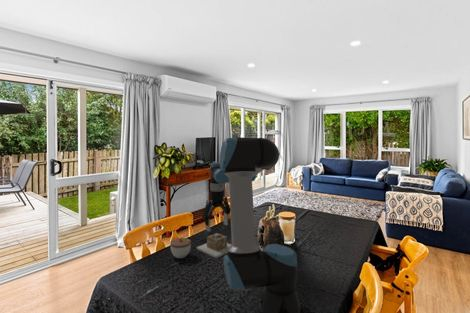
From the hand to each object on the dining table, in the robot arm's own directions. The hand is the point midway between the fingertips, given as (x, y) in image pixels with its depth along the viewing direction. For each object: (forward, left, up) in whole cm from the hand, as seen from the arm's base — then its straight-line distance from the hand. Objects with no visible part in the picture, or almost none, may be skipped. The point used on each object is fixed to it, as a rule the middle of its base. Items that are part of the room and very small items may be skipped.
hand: (217, 227), depth 147 cm
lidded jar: (-19, +8, -13) cm, 24 cm away
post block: (0, 0, -13) cm, 13 cm away
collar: (0, 0, -11) cm, 11 cm away
